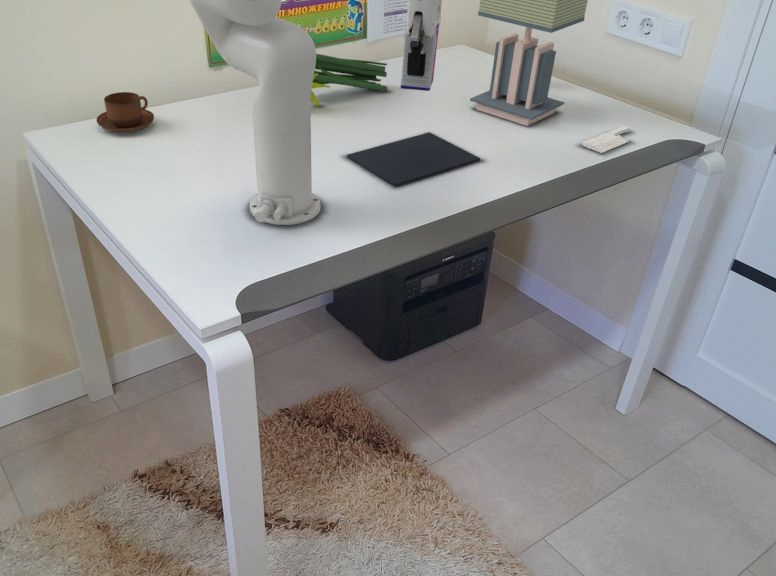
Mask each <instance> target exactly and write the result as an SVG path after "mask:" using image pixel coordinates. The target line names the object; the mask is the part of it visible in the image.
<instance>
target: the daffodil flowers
mask: <svg viewBox="0 0 776 576" xmlns="http://www.w3.org/2000/svg"><path fill="white" fill-rule="evenodd" d="M282 19H283V20H286V21H287V19H286V16H284V17H283V18H282ZM387 65H388V63H387V62H379V61H371V60H362V59H352V58H351V59H350V58H340V57H335V56H330V55H326V54H321V53H316V66H315V71H314V77H313V82H312V89H320V88H331V85H332V84H333V85H340V86H346V87H347V86H348V87H355V88H361V89H366V90H374V91H379V92H384V93H385V92H386V93H387V92H388V86H387V85H385V84H381V83H378V82H381V81H382V78H387V75H388V73H387V71H386V66H387ZM319 70H320V71H319ZM378 77H381V78H378ZM330 84H331V85H330ZM311 103H314V104H315V105H316V106H317V107H321V105H320V103H319V101H318V98H317V96H316V95H315V93H314V92H313V90H311Z"/></svg>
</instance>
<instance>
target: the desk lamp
mask: <svg viewBox="0 0 776 576" xmlns="http://www.w3.org/2000/svg"><path fill="white" fill-rule="evenodd" d="M588 1H589V0H479V8H478V12H477V16H479V17H482V18H487V19H492V20H495V21H500V22H504V23H507V24H508V23H509V24H512V25H516V26H521V27H525V31H524V38H523V39H520V40H521V41H518V40H519V36H520V34H519V33H512V34H509V35H507V36H504V37H501V38H499V41H497V42H496V43H495V48H494V49H495V50H494V58H493V64H492V71H491V78H490V86H489V90H487V91H484V92H482V93H479V94H477V95H475V96H472V97H470V98H469V102H473V103H476V105H475V106H476V107H475V110H477V111H479V112H483V113H485V114H489V115H493V116H496V117H498V118H500V119H501V118H502V119H504V120H507V121H511V122H514V123H517V124H520V125H523V126H526V127H528V126H531V125H533V124H535V123H537V122H538V121H540V120H542V119H544V118H547V117H549V116H551V115H553V114H555V113H556V109H557V108H559V107H562V106H563V105H565V101H562V100H558V99H555V98H552V97H548V96H549V92H550V86H551V81H552V75H553V70H554V65H555V61H556V60H555V59H556V54H557V51H556V50H554V46H555V42H551V41H550V42H546V43H543V44H541V45H538V44H539V38H535V37H532V32H533V31H532V30H533V29H534V30H537V31H542V32H546V33H550V34H552V33H555V32H558V31H560V30H563V29H565V28H569V27H571V26H574V25H576V24H579V23H582V22H584V21H585V16H586V10H587V7H588Z"/></svg>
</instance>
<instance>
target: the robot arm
mask: <svg viewBox="0 0 776 576" xmlns="http://www.w3.org/2000/svg"><path fill="white" fill-rule="evenodd" d="M442 1H443V0H407V9H406V10H407V11H406V24H407V34H408V35H409V36H410V45H409V52H408V63H407V75H411V76H421V77H422V76H424V73H425V60H426V54H425V53H424V52H425V44H426V36H429V38H432V37H433V36H434V35H435V27H436V26H437V24H438V23H439V28H440V26H441V20H442V19H441V18H442ZM189 2H190V4H191V6H192V8H193V10H194V11H195V14H196V16H197V18H198V19H199V20H200V21H199V22H200V23H201V24H202V26H203V28H204V30H205V31H206V33H207V35H208V37H209V38H210V40H211V42H212V44H213V46H214V47H215V49H216V51H217V52H218V54H219V55H220V57H221V58H222V59H223V60H224V62H225V63H226V64H227V65H228V66H230V67H231V68H232V69H233V68H234V69H235V70H237V71H239V72H241V73H244V74H246V75H248V76H251V77H253V78H254V79H257V80H258V87H257V91H256V94H255V97H254V100H253V103H252V115H251V116H252V126H253V141H254V142H253V143H254V144H253V145H254V158H255V159H254V160H255V173H256V187H257V189H256V191H257V193H256V194H255V195H254V196H252V198H251V199H250V201H249V211H250V213H251V215H252V216H253V217H254V219H255V221H257V222H258V223H266V224H271V225H276V226H290V225H291V226H292V225H297V224H302V223H306V222H308V221H310V220H312V219H314V218H315V217H317V215H319V213H320V212H321V208H322V206H321V200H320V198H319V197H318V195H316V194H315V193H313V189H312V188H313V187H312V186H313V185H312V184H313V183H312V180H313V179H312V124H311V123H312V122H311V121H312V120H311V117H312V116H311V115H312V114H311V107H312V105H311V104H312V101H311V90H312V89H313V88H312V82H313V77H314V71H316V69H315V66H316V54H317V50H316V45H315V43H314V41H313V38H312V37H311V36H310V34H309V33H308V32H307V31H306V30H305V29H304V28H303V27H301V26H300V25H298V24H296V23H294V22H292V21H288V20H287V19H286V20H283V18H280V17H277V16H278V15H279V13H280V10H281V6H282V0H189ZM411 27H412V28H411ZM410 29H411V31H409V30H410ZM420 32H424V35H420ZM410 34H411V35H410ZM419 39H422V43H421V41H419ZM421 45H422V46H421ZM312 91H313V90H312Z"/></svg>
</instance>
